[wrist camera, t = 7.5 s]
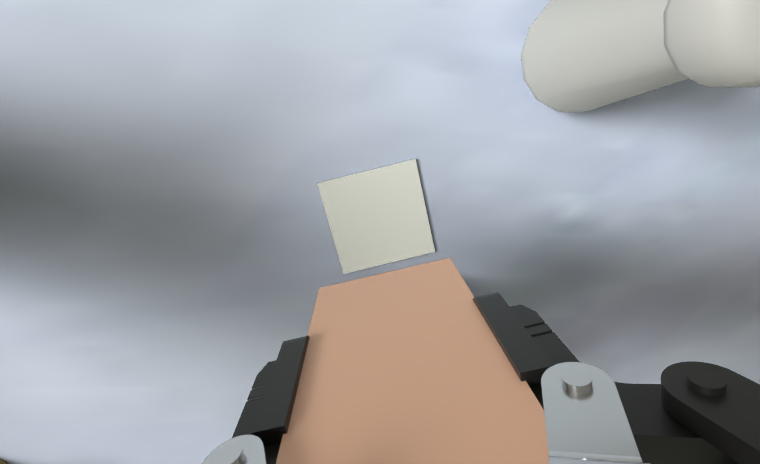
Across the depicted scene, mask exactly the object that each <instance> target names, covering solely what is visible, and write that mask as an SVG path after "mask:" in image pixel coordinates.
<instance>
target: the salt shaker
mask: <svg viewBox="0 0 760 464" xmlns="http://www.w3.org/2000/svg"><path fill="white" fill-rule="evenodd" d="M521 61H522V66H523V75H524V80H525V82H526V84H527V85H528V87H529V88H530V90H531V92H532V93H533V95H534V96H535V98H536V100H538V101H540V102H542V103H544V104H545V105H547V106H549V107H551V108H553V109H554V110H556V111H560V112H587V111H590V110H593V109H596V108H599V107H602V106H605V105H608V104H612V103H615V102H618V101H621V100H624V99H627V98H630V97H633V96H637V95H640V94H643V93H646V92H649V91H652V90H655V89H658V88H662V87H665V86H668V85H671V84H674V83H677V82H680V81H683V80H687V79H691V80H693V81H695V82H696V83H698V84H700V85H703V86H705V87H758V86H760V0H551V1H550V2H549V3H548V5H547V6H546V7H545V8H544V9H543V11H542V12H541V13H540V14H539V16H538V17H537V18H536V20H535V21H534V22H533V23H532V25H531V26H530V27H529V30H528V33H527V36H526V39H525V43H524V46H523V49H522V52H521Z"/></svg>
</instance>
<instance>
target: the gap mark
mask: <svg viewBox="0 0 760 464" xmlns="http://www.w3.org/2000/svg"><path fill="white" fill-rule="evenodd" d="M317 185H318V188H319V192H320V195H321V199H322V202H323V205H324V209H325V212H326V216H327V219H328V223H329V226H330V229H331V233H332V236H333V240H334V243H335V247H336V250H337V253H338V257H339V260H340V264H341V267H342V270H343V274H346V273H350V272H354V271H358V270H363V269H367V268H371V267H375V266H379V265H383V264H387V263H391V262H395V261H400V260H404V259H408V258H412V257H416V256H420V255H424V254H428V253H433V252H435V249H434V244H433V239H432V235H431V230H430V225H429V221H428V216H427V211H426V206H425V202H424V197H423V192H422V188H421V183H420V178H419V173H418V169H417V164H416V159H412V160H408V161H404V162H400V163H396V164H392V165H388V166H384V167H380V168H376V169H372V170H368V171H364V172H360V173H356V174H352V175H348V176H344V177H340V178H336V179H332V180H328V181H324V182H320V183H317Z"/></svg>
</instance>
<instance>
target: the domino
mask: <svg viewBox="0 0 760 464" xmlns="http://www.w3.org/2000/svg"><path fill="white" fill-rule="evenodd" d="M473 298H475V297H474V296H473V294H472V292H471V291H470V289H469V288H468V286H467V284H466V283H465V281H464V279H463V278H462V276H461V275H460V273H459V271H458V270H457V268H456V266H455V265H454V263H453V262H452V260H451V258H446V259H442V260H438V261H433V262H429V263H425V264H420V265H416V266H412V267H408V268H403V269H399V270H395V271H390V272H386V273H382V274H378V275H373V276H369V277H365V278H360V279H356V280H352V281H347V282H343V283H339V284H335V285H330V286H326V287H322V288H319V290H318V294H317V298H316V303H315V307H314V311H313V315H312V319H311V323H310V327H309V331H308V335H307V336H309V337H310V338H309V342H308V346H307V350H306V355H305V359H304V363H303V368H302V372H301V376H300V380H299V385H298V389H297V393H296V397H295V402H294V406H293V410H292V415H291V419H290V423H289V427H288V432H287V434H283V436H282V440H281V444H280V448H279V453H278V457H277V461H276V464H549V457H548V455H549V451H548V442H547V433H546V424H545V414H544V410H543V408H542V406H541V405H540V403H539V402H538V400H537V398H536V397H535V395H534V393H533V392H532V390H531V389H530V387H529V385H528V384H527V382H526V381H522V382H521V380H520V379H519V377H518V375H517V374H516V372H515V370H514V369H513V367H512V365H511V364H510V362H509V360H508V358H507V357H506V355H505V353H504V352H503V350H502V348H501V347H500V345H499V343H498V342H497V340H496V338H495V337H494V335H493V333H492V332H491V330H490V328H489V327H488V325H487V323H486V322H485V320H484V318H483V316H482V315H481V313H480V311H479V310H478V308H477V306H476V305H475V303H474V301H473Z"/></svg>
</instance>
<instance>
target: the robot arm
mask: <svg viewBox="0 0 760 464" xmlns="http://www.w3.org/2000/svg"><path fill="white" fill-rule="evenodd" d="M473 301H474V303H475V305H476V306H477V308H478V310H479V311H480V313H481V315H482V316H483V318H484V320H485V322H486V323H487V325H488V327H489V328H490V330H491V332H492V333H493V335H494V337H495V338H496V340H497V342H498V343H499V345H500V347H501V348H502V350H503V352H504V353H505V355H506V357H507V358H508V360H509V362H510V364H511V365H512V367H513V369H514V370H515V372H516V374H517V375H518V377H519V379H520V380H521V382H522V381H526V382H527V384H528V385H529V387H530V389H531V390H532V392H533V393H534V395H535V397H536V398H537V400H538V402H539V403H540V405H541V406H542V408H543V410H544V414H545V424H546V433H547V442H548V451H549V455H548V457H549V464H760V384H758V383H756V382H753V381H751V380H749V379H747V378H745V377H743V376H741V375H739V374H737V373H735V372H733V371H731V370H729V369H727V368H724V367H721V366H718V365H714V364H709V363H704V362H680V363H676V364H673V365H670V366H669V367H667V368H666V369H665V370H664V371H663V372H662V375H661V384H624V383H618V382H614V381H613V379H612V378H611V377H610V376H609V375H608V374H607V373H606V372H605V371H603V370H602V369H600V368H598V367H596V366H593V365H590V364H586V363H580V362H579V361H578V360H577V359H576V357H575V356H574V355H573V354H572V353H571V352H570V351H569V349H568V348H567V347H566V346H565V345H564V344H563V343H562V341H561V340H560V339H559V338H558V337H557V336H556V335H555V333H553V332H552V330H551V329H550V328H549V327H548V325H547V324H545V323H544V321H543V320H542V319H541V317H540V316H539V315H538V314H537V313H536V312H535V311H533V310H531V309H529V308H527V307H525V306H523V305H516V306H512V307H509V306H508V305H507V303H506V302H505V301H504V299H503V298H502V297H501V295H500V294H499V293H498V292H497V293H492V294H488V295H484V296H479V297H475V298H473ZM309 338H310V337H309V336H305V337H301V338H296V339H292V340H288V341H284V342H283V343H282V346H281V349H280V352H279V355H278V358H277V360H276V361H272V362H268V363H267V365H266V366H265V367H264V368H263V369H262V370H261V371H260V372H259V374H258V375H257V377H256V379H255V382H254V384H253V387H252V391H251V392H250V394H249V397H248V399H247V400H248V402H246V404H245V407H244V409H243V412H242V414H241V417H240V419H239V422H238V424H237V427H236V429H235V432H234V434H233V437H232V439H229V440H228V441H226V442H224V443H222V444H221V445H219V446H218V447H217V448H216V449H214V450H213V451H212V452H211V453H210V454H209V455H208V456H207V457H206V459H205V460H204V461H203V463H202V464H276V461H277V457H278V453H279V448H280V444H281V440H282V436H283V434H287V432H288V427H289V423H290V419H291V415H292V410H293V406H294V402H295V397H296V393H297V389H298V385H299V380H300V376H301V372H302V368H303V363H304V359H305V355H306V350H307V346H308V342H309Z"/></svg>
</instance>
